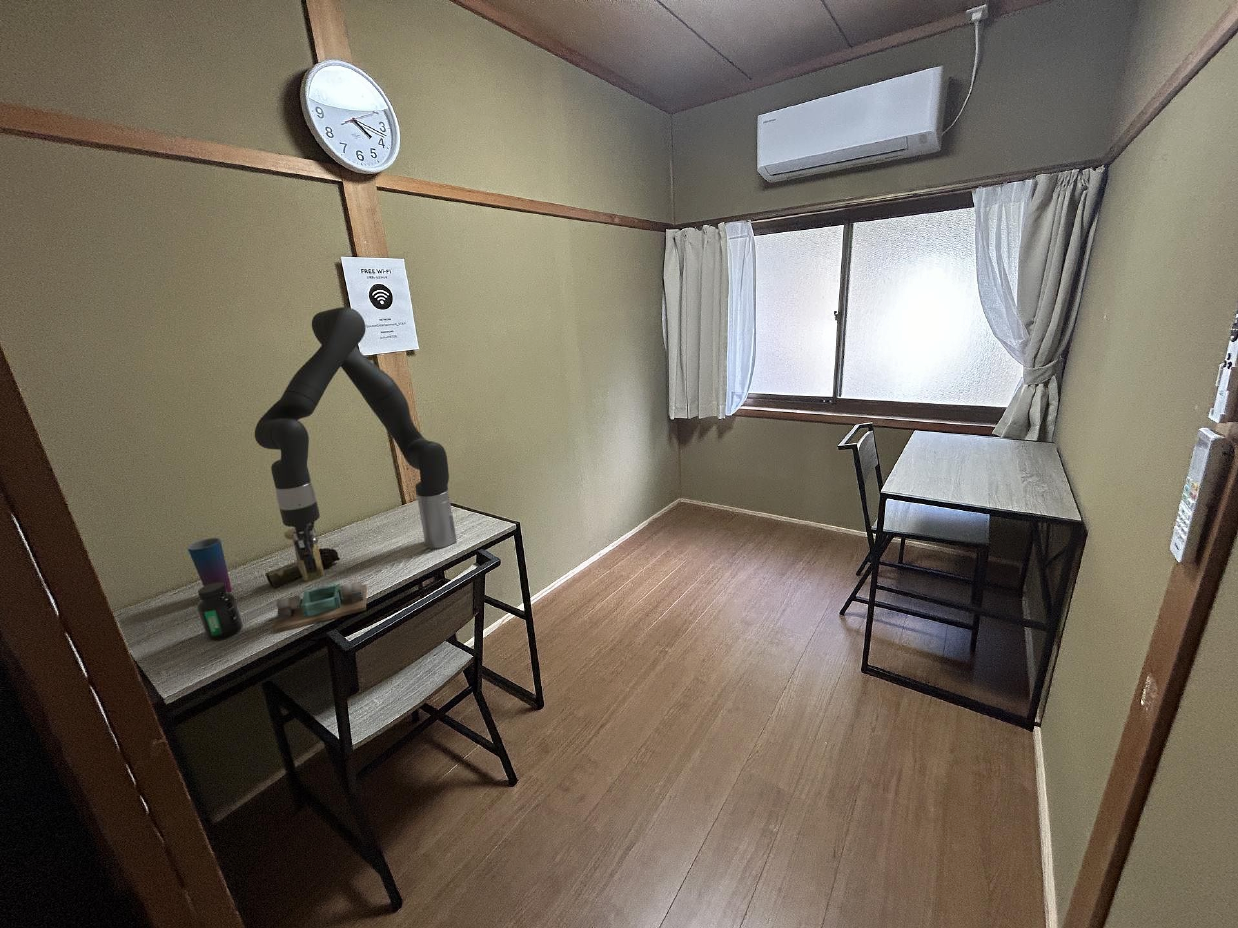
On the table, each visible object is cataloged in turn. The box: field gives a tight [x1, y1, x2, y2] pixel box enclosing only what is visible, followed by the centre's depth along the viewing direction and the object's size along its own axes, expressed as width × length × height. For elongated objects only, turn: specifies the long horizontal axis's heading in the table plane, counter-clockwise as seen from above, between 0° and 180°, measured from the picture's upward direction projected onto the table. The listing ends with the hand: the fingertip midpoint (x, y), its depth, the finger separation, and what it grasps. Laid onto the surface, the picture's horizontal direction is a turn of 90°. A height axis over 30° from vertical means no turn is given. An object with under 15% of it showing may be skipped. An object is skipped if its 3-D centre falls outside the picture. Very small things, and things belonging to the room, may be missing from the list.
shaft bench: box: [274, 580, 368, 633], centre depth 125 cm, size 19×12×5 cm, turn 115°
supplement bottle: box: [196, 582, 244, 642], centre depth 116 cm, size 7×7×12 cm
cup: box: [187, 537, 232, 594], centre depth 133 cm, size 7×7×15 cm
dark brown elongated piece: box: [265, 547, 341, 589], centre depth 143 cm, size 18×7×6 cm, turn 138°
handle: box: [283, 527, 311, 582], centre depth 138 cm, size 5×6×15 cm
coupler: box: [295, 534, 325, 581], centre depth 122 cm, size 5×5×10 cm
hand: (313, 567), depth 122 cm, fingers closed on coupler, 4 cm apart
